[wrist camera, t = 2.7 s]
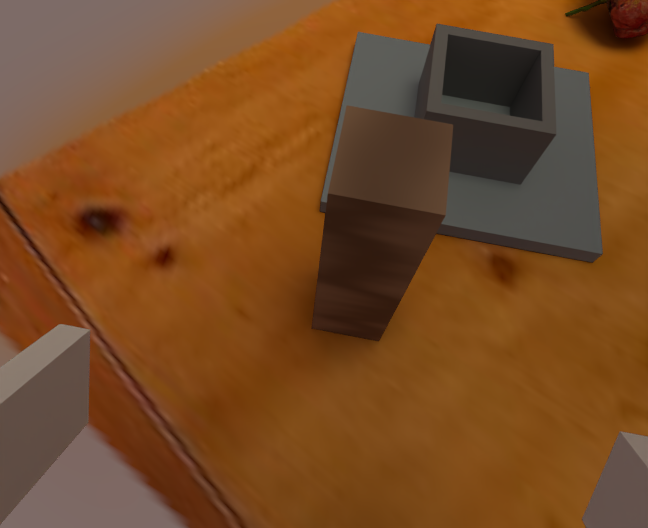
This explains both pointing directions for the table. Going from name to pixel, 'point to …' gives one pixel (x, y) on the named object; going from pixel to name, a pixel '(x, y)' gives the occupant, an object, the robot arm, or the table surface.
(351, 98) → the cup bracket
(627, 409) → the table surface
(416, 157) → the walnut rail post
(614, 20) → the pomegranate
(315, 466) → the table surface
